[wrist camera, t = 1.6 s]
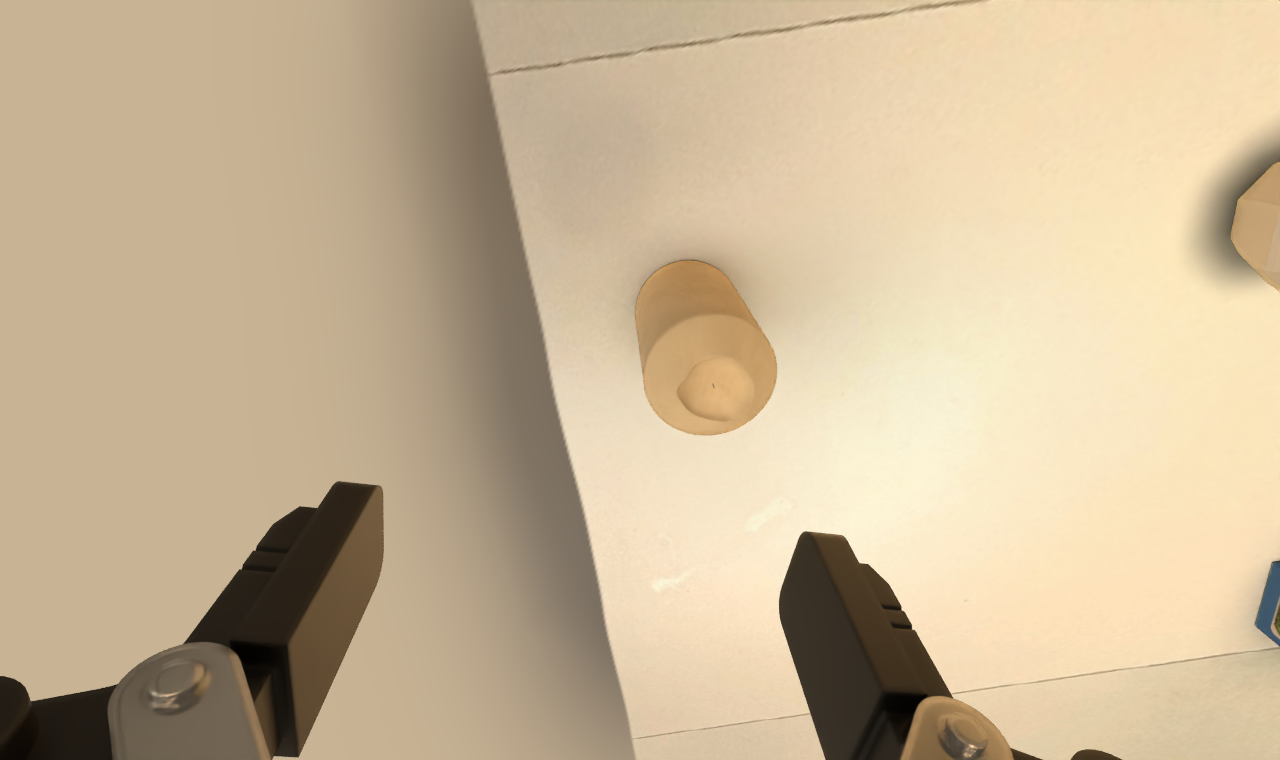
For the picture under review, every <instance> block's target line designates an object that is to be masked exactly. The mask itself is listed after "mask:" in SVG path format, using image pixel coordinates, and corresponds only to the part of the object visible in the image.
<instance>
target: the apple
mask: <svg viewBox="0 0 1280 760" xmlns="http://www.w3.org/2000/svg"><path fill="white" fill-rule="evenodd" d="M1230 239H1231V240H1232V242H1233V244H1234V246H1235V247H1236V249H1237V251H1238V253H1239V254H1240V255H1241V256H1242V257H1243V258H1244V259H1245V260H1246V261H1247V262H1248V263H1249V264H1250V265H1251V266H1252V267H1253V268H1254V270H1255V271H1256V272H1257V273H1258V274H1259V275H1260V276H1261V277H1262V278H1263V279H1264V280H1265V281H1266V282H1267V283H1268V284H1270V285H1271V286H1272V287H1274V288H1275V289H1277V290H1278V291H1279V292H1280V162H1278V163H1275V164H1273V165H1272V166H1271V167H1270V168H1269V169H1268V170H1267V171H1266V172H1265V173H1264V174H1263V175H1262V176H1261V177H1260V178H1259V179H1258V180H1257V181H1256V182H1255V183H1254V184H1253V185H1252V186H1251V187H1250V188H1249V189H1248V190H1247V191H1246V192H1245V193H1244V194H1243V195H1242V196H1241V197H1240V198H1239V199H1238V201H1237V206H1236V211H1235V215H1234V220H1233V225H1232V229H1231V238H1230Z"/></svg>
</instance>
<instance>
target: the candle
mask: <svg viewBox="0 0 1280 760" xmlns="http://www.w3.org/2000/svg"><path fill="white" fill-rule="evenodd" d="M635 315H636V326H637V334H638V342H639V350H640V358H641V365H642V373H643V381H644V389H645V393H646V396H647V399H648V401H649V403H650V405H651V407H652V408H653V410H654V411H655V413H656V414H657V415H658V416H659V417H660V418H661V419H662V420H663V421H664V422H666V423H667V424H669V425H670V426H672V427H674V428H676V429H678V430H680V431H683V432H686V433H690V434H694V435H716V434H722V433H726V432H729V431H732V430H735V429H737V428H739V427H741V426H743V425H744V424H746V423H747V422H749V421H750V420H751V419H753V418H754V417H755V416H756V415H757V414H758V413H759V412H760V411H761V410H762V409H763V408H764V406H765V405H766V404H767V402H768V400H769V399H770V397H771V395H772V392H773V390H774V387H775V383H776V377H777V363H776V357H775V354H774V351H773V349H772V347H771V345H770V343H769V341H768V339H767V338H766V336H765V335H764V333H763V331H762V330H761V328H760V327H759V325H758V324H757V322H756V320H755V319H754V317H753V316H752V314H751V312H750V311H749V309H748V308H747V306H746V305H745V303H744V301H743V300H742V298H741V297H740V295H739V293H738V292H737V290H736V289H735V287H734V286H733V284H732V283H731V282H730V280H729V279H728V278H727V277H726V276H725V275H724V274H723V273H722V272H721V271H720V270H718V269H717V268H715V267H713V266H711V265H709V264H707V263H703V262H700V261H693V260H685V261H678V262H674V263H671V264H668V265H666V266H664V267H662V268H660V269H659V270H658V271H656V272H655V273H654V274H653V275H652V276H651V277H649V279H648V280H647V281H646V282H645V284H644V286H643V287H642V289H641V291H640V293H639V296H638V299H637V303H636V314H635Z"/></svg>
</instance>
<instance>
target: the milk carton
mask: <svg viewBox="0 0 1280 760" xmlns="http://www.w3.org/2000/svg"><path fill="white" fill-rule="evenodd" d="M1255 626H1256V627H1257V628H1258V629H1260V630H1261V631H1262V632H1263V633H1264V634H1266V635H1267V636H1268V637H1269V638H1270V639H1272V640H1273V641H1274V642H1275V643H1276V644H1278V645H1279V646H1280V561H1279V562H1274V563H1272V566H1271V570H1270V574H1269V577H1268V581H1267V584H1266V588H1265V591H1264V595H1263V599H1262V602H1261V606H1260V609H1259V613H1258V616H1257V620H1256V623H1255Z"/></svg>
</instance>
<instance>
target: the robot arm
mask: <svg viewBox="0 0 1280 760" xmlns="http://www.w3.org/2000/svg"><path fill="white" fill-rule="evenodd" d="M383 536H384V535H383V490H382V487H381V486H378V485H368V484H359V483H349V482H340V481H338V482H336V483H335V484H334V485H333V486H332V487H331V489H330V490H329V492H328V493H327V495H326V496H325V498H324V499H323V501H322V502H321V504H320V505H319V507H318V508H311V507H301V506H300V507H298V508H297V509H295V510H294V511H292V512H291V513H290V514H288V515H286V516H285V517H283V518H282V519H280V520H279V521H277V522H276V523H274V524H273V525H272V526H271V528H270V529H269V530H268V532H267V533H266V535H265V536H264V537H263V538H262V540H261V541H260V542H259V544H258V545H257V548H256V551H253V552H252V553H251V554H250V556H249V557H248V558H247V560H246V561H245V563H244V564H243V567H242V570H239V571H238V572H237V573H236V575H235V576H234V577H233V579H232V580H231V581H230V583H229V584H228V585H227V587H226V588H225V590H224V591H223V592H222V593H221V595H220V596H219V597H218V599H217V600H216V601H215V603H214V604H213V605H212V607H211V608H210V609H209V611H208V612H207V613H206V615H205V616H204V617H203V619H202V620H201V621H200V623H199V624H198V625H197V627H196V628H195V629H194V631H193V632H192V633H191V635H190V636H189V638H188V639H187V640H186V641H185V642H184V644H183V645H179V646H176V647H172V648H169V649H167V650H164V651H162V652H159V653H157V654H155V655H153V656H152V657H150V658H148V659H146V660H145V661H143V662H142V663H140V664H139V665H137V666H136V667H135V668H133V669H132V670H131V671H130V672H129V673H128V674H127V675H126V676H125V677H124V678H123V679H122V680H121V681H120V682H119V684H117V685H114V686H110V687H105V688H101V689H96V690H91V691H85V692H80V693H75V694H70V695H64V696H58V697H53V698H48V699H43V700H37V701H30V698H29V695H28V693H27V690H26V688H25V687H24V686H23V685H22V684H21V683H20V682H18V681H17V680H15V679H12V678H8V677H5V676H0V760H272V759H273V757H274V756H284V757H299V755H300V753H301V751H302V749H303V746H304V744H305V742H306V740H307V738H308V736H309V733H310V731H311V729H312V727H313V724H314V722H315V720H316V717H317V716H318V713H319V711H320V709H321V706H322V705H323V702H324V700H325V698H326V696H327V694H328V691H329V689H330V687H331V685H332V682H333V680H334V678H335V676H336V673H337V671H338V669H339V667H340V665H341V663H342V660H343V658H344V656H345V654H346V652H347V649H348V647H349V645H350V643H351V640H352V638H353V636H354V634H355V631H356V629H357V627H358V625H359V623H360V621H361V618H362V616H363V614H364V611H365V609H366V607H367V605H368V603H369V601H370V598H371V596H372V594H373V592H374V590H375V587H376V585H377V582H378V579H379V576H380V572H381V567H382V562H383V551H384V548H383V547H384V542H383V541H384V539H383V538H384V537H383ZM779 614H780V620H781V624H782V627H783V630H784V633H785V636H786V639H787V642H788V646H789V649H790V652H791V655H792V658H793V661H794V664H795V667H796V670H797V673H798V676H799V679H800V682H801V685H802V689H803V692H804V695H805V698H806V701H807V704H808V707H809V710H810V713H811V716H812V719H813V722H814V725H815V728H816V732H817V735H818V738H819V741H820V744H821V747H822V750H823V753H824V756H825V759H826V760H1042V759H1039V758H1036V757H1034V756H1031V755H1028V754H1025V753H1023V752H1020V751H1017V750H1015V749H1012V748H1010V746H1009V745H1008V743H1007V741H1006V739H1005V738H1004V736H1003V735H1002V734H1001V732H1000V731H999V730H998V729H997V727H996V726H995V725H994V724H993V723H992V722H991V721H990V720H989V719H987V718H986V717H985V716H984V715H983V714H981V713H980V712H979V711H977V710H976V709H974V708H973V707H971V706H969V705H967V704H965V703H963V702H961V701H959V700H956V699H953V697H952V695H951V693H950V692H949V690H948V688H947V686H946V685H945V683H944V681H943V679H942V677H941V676H940V674H939V672H938V670H937V669H936V667H935V665H934V663H933V661H932V660H931V658H930V656H929V654H928V653H927V651H926V649H925V647H924V646H923V644H922V642H921V640H920V638H919V637H918V635H917V633H916V631H915V630H912V624H911V623H910V621H909V619H908V617H907V615H906V614H905V612H904V611H902V610H901V605H900V603H899V601H898V600H897V598H896V596H895V594H894V592H893V591H892V589H891V587H890V585H889V584H888V583H887V582H886V581H885V580H884V579H883V578H882V577H881V576H880V575H879V574H878V573H877V572H876V571H875V570H874V569H873V568H872V567H871V566H869V565H868V564H861V563H859V562H858V560H857V558H856V556H855V554H854V552H853V551H852V549H851V547H850V545H849V543H848V541H847V540H846V538H845V537H844V536H842V535H835V534H826V533H816V532H807V531H806V532H803V533H802V534H801V535H800V537H799V539H798V542H797V545H796V548H795V551H794V554H793V556H792V559H791V562H790V565H789V568H788V571H787V574H786V576H785V579H784V582H783V585H782V588H781V592H780V598H779ZM1071 760H1121V759H1120V758H1118V757H1115V756H1113V755H1111V754H1108V753H1105V752H1102V751H1098V750H1088V749H1086V750H1081V751H1079V752H1077V753H1076V754H1075V755H1074V756H1073V757H1072V758H1071Z"/></svg>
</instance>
